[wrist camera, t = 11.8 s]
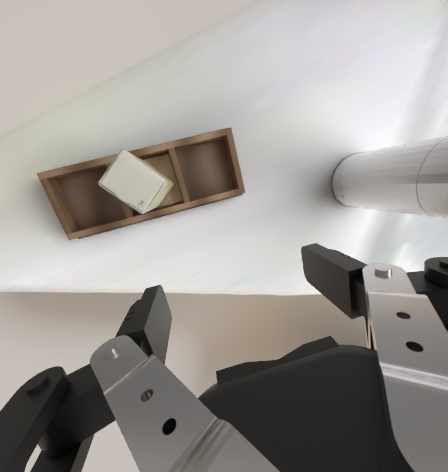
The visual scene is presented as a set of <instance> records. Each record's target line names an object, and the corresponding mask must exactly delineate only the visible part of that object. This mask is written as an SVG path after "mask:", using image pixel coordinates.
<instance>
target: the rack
mask: <svg viewBox="0 0 448 472" xmlns="http://www.w3.org/2000/svg"><path fill="white" fill-rule="evenodd" d="M129 153H131V154H133V155H135V156H136V157H138V158H140V159H142V160H143V161H145V162H147V163H149V164H150V165H151V166H153V167H154V168H155V169H157V170H158V171H159V172H161V173H162V174H163V175H165V176H166V177H167V178H168V179H170V180H171V181H172V182H174V183H175V185H174V187H173V188H172V190H171V191H170V193H169V194H168V195H167V197H166V198H165V200H164V201H163V202H162V203H161V205H160V206H158V207H156V208H154V209H152V210H150V211H148V212H146V213H144V214H141V213H140V212H138V211H137V210H135V209H134V208H132V207H131V206H129V205H127V204H126V203H124V202H123V201H121V200H120V199H118V198H117V197H115V196H114V195H112V194H111V193H109V192H108V191H107V190H105V189H104V188H102V187H101V186H100V185H99V183H98V182H99V181H100V179H101V178H102V176H103V175H104V173H105V172H106V171H107V169H108V168H109V166H110V165H111V164H112V162H113V161H114V159H115V158H116V157H117V155H118V154H117V155H112V156H108V157H104V158H100V159H95V160H91V161H87V162H83V163H78V164H74V165H70V166H66V167H62V168H57V169H53V170H49V171H45V172H40V173H37V175H38V177H39V179H40V181H41V183H42V185H43V187H44V189H45V192H46V194H47V196H48V198H49V200H50V202H51V204H52V206H53V208H54V210H55V212H56V214H57V217H58V219H59V221H60V223H61V225H62V227H63V229H64V231H65V233H66V235H67V237H68V239H69V240H72V239H75V238H78V239H81V238H84V237H88V236H92V235H95V234H99V233H103V232H106V231H110V230H114V229H117V228H121V227H125V226H129V225H132V224H136V223H140V222H143V221H147V220H151V219H154V218H158V217H162V216H165V215H169V214H173V213H176V212H180V211H184V210H187V209H191V208H195V207H198V206H202V205H206V204H209V203H213V202H217V201H221V200H224V199H228V198H232V197H235V196H239V195H242V193H245V190H244V185H243V181H242V176H241V171H240V167H239V162H238V158H237V153H236V149H235V144H234V139H233V135H232V130H231V128H226V129H222V130H218V131H214V132H210V133H205V134H201V135H197V136H193V137H188V138H184V139H180V140H176V141H171V142H167V143H163V144H159V145H155V146H150V147H146V148H142V149H138V150H133V151H129Z"/></svg>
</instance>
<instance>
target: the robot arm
mask: <svg viewBox="0 0 448 472" xmlns="http://www.w3.org/2000/svg"><path fill="white" fill-rule="evenodd" d="M332 188H333V193H334V195H335V197H336V199H337V200H338V201H339V202H340V203H341V204H343V205H346V206H351V207H359V208H366V209H374V210H381V211H389V212H397V213H405V214H413V215H421V216H429V217H438V218H446V219H448V136H447V137H441V138H436V139H431V140H426V141H420V142H415V143H410V144H405V145H400V146H394V147H389V148H384V149H379V150H373V151H368V152H363V153H357V154H353V155H350V156H348V157H346V158H345V159H344V160H343V161H342V162H341V163H340V164H339V165H338V167H337V169H336V170H335V173H334V176H333V181H332ZM301 253H302V261H303V269H304V274H305V277H306V279H307V281H308V282H309V283H310V284H311V285H312V286H313V287H315V288H316V289H317V290H318V291H319V292H320V293H322V294H323V295H324V296H325V297H326V298H327V299H329V300H330V301H331V302H332V303H333V304H334V305H336V306H337V307H338V308H339V309H340V310H341V311H343V312H344V313H345V314H346V315H347V316H348V317H350V318H351V319H354V318H357V317H360V316H364V317H365V330H366V338H367V347H368V348H366V347H361V346H355V345H338V344H337V343H336V342H335V340H334V339H333V338H332V337H331V336H329V337H325V338H322V339H319V340H316V341H313V342H310V343H306V344H303V345H302V346H300V347H298V348H297V349H295V350H293V351H292V352H290V353H289V354H287V355H285V356H284V357H282V358H280V359H278V360H271V361H257V362H245V363H242V364H238V365H235V366H232V367H229V368H225V369H222V370H219V371H216V375H217V383H216V384H214V385H213V386H211V387H210V388H209V389H208V390H206V391H205V392H204V393H203V394H202V395H201V396H200V397H199V398H197V397H196V396H195V395H194V394H193V393H192V392H191V391H190V390H189V389H188V388H187V387H186V386H185V385H184V384H183V383H182V382H181V381H180V380H179V379H178V378H177V377H176V376H175V375H174V374H173V373H172V372H171V371H170V370H169V369H168V368H167V367H166V366H165V365H164V364H165V358H166V352H167V345H168V340H169V333H170V327H171V321H172V318H171V312H170V308H169V305H168V303H167V300H166V297H165V294H164V291H163V288H162V286H161V285H158V286H154V287H150V288H147V289H145V291H144V294H143V296H142V298H141V300H138V301H136V302H135V303H134V304H133V305H132V306H131V307H130V309H129V311H128V313H127V315H126V317H125V319H124V321H123V323H122V325H121V327H120V329H119V331H118V332H117V335H116V336H115V338H112V339H110V340H109V341H107V342H105V343H104V344H102V345H101V346H100V347H99V348H98V349H97V350H96V351H95V352H94V353H93V355H92V356H91V359H90V364H88V365H86V366H84V367H83V368H80V369H79V370H76V371H75V372H73V373H71V374H69V375H66V373H65V371H64V369H63V368H62V367H52V368H49V369H47V370H45V371H43V372H41V373H39V374H37V375H36V376H34V377H33V378H31V379H30V380H28V381H27V382H26V383H25V384H24V385H23V386H21V387H20V388H19V389H18V390H17V391H16V393H15V394H14V395H13V396H12V398H11V399H10V400H9V401H8V402H7V404H6V405H5V406H4V408H3V409H2V410H1V411H0V472H24V471H25V467H26V464H27V462H28V460H29V458H30V456H31V454H32V453H33V451H34V449H35V447H36V445H37V444H38V445H39V446H40V448H41V450H42V451H41V453H40V455H39V456H38V459H37V460H36V462H35V464H34V466H33V468H32V470H31V471H30V472H81V471H82V468H83V465H84V462H85V459H86V457H87V454H88V451H89V448H90V445H91V442H92V439H93V436H94V433H96V432H98V431H99V430H101V429H102V428H104V427H106V426H107V425H109V424H110V423H112V422H113V421H115V420H116V421H117V423H118V426H119V428H120V430H121V432H122V434H123V436H124V438H125V440H126V443H127V445H128V447H129V449H130V451H131V453H132V455H133V457H134V460H135V462H136V464H137V466H138V468H139V470H140V472H448V257H436V258H430V259H428V260H426V261H425V265H424V271H419V272H408V273H406V272H405V270H403V269H402V268H400V267H398V266H395V265H391V264H381V263H378V264H370V265H367V264H365V263H362V262H360V261H358V260H356V259H354V258H351V257H350V256H347V255H344V254H343V253H341V252H339V251H336V250H331V249H327V248H325V247H323V246H321V245H319V244H317V243H314V244H311V245H307V246H303V247H302V249H301Z"/></svg>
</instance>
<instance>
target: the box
mask: <svg viewBox="0 0 448 472" xmlns="http://www.w3.org/2000/svg"><path fill="white" fill-rule="evenodd" d="M98 183H99V185H100V186H101V187H102V188H104V189H105V190H107V191H108V192H109V193H111V194H112V195H114V196H115V197H117V198H118V199H120V200H121V201H123V202H124V203H126V204H127V205H129V206H131V207H132V208H134V209H135V210H137V211H138V212H140V213H141V214H144V213H146V212H148V211H150V210H152V209H154V208H156V207H158V206H160V205H161V203H162V202H163V201H164V200H165V198H166V197H167V195H168V194H169V193H170V191H171V190H172V188H173V187H174V185H175V183H174V182H172V181H171V180H170V179H168V178H167V177H166V176H165V175H163V174H162V173H161V172H159V171H158V170H157V169H155V168H154V167H153V166H151V165H150V164H149V163H147V162H145V161H143V160H142V159H140V158H138V157H136V156H135V155H133V154H131V153H129V152H128V151H126V150H124V149H122V150H121V151H120V153H119V154H118V155H117V157H116V158H115V159H114V161H113V162H112V164H111V165H110V166H109V168H108V169H107V171H106V172H105V173H104V175H103V176H102V178H101V179H100V181H99V182H98Z"/></svg>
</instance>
